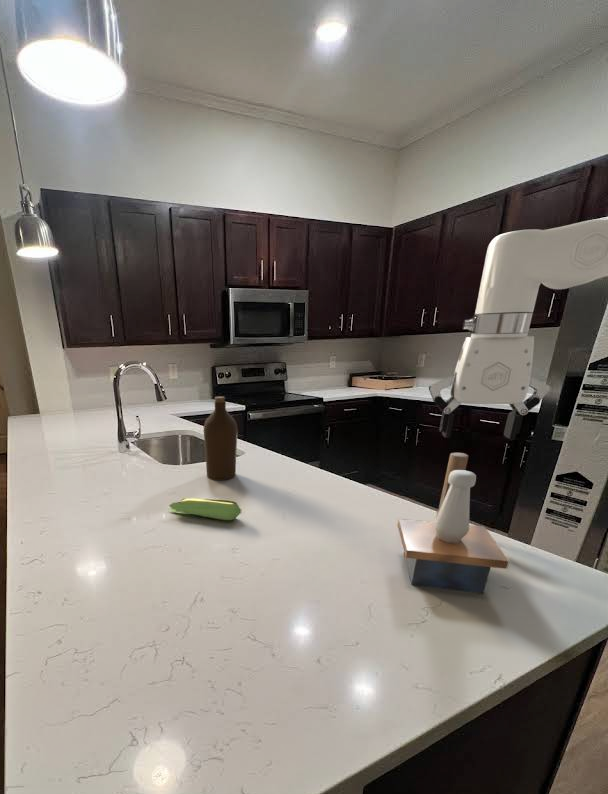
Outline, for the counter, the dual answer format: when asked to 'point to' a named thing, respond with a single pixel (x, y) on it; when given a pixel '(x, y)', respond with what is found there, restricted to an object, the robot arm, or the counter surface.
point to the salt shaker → (455, 507)
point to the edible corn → (207, 508)
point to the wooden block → (455, 463)
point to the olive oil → (220, 442)
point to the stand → (449, 557)
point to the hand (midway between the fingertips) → (476, 436)
